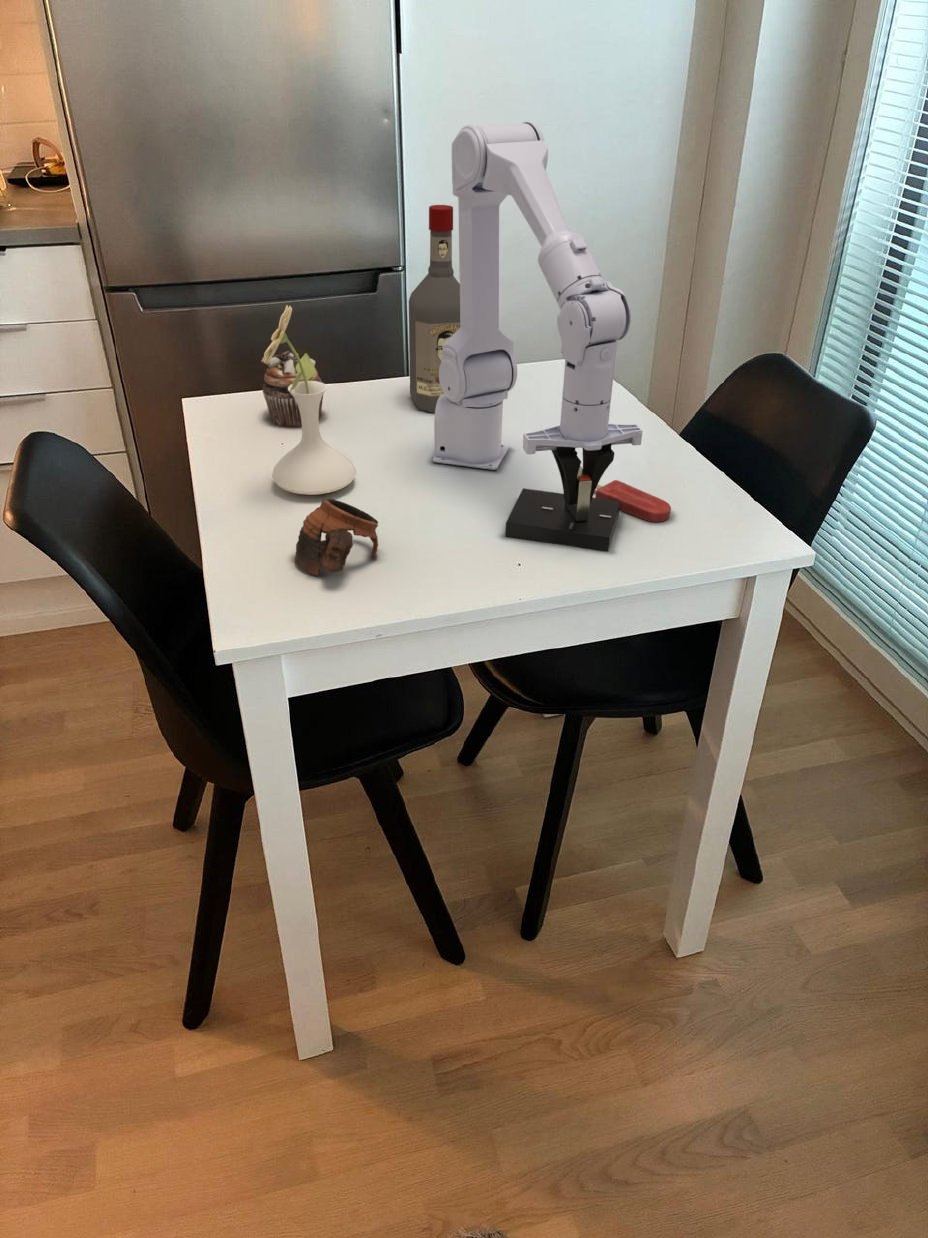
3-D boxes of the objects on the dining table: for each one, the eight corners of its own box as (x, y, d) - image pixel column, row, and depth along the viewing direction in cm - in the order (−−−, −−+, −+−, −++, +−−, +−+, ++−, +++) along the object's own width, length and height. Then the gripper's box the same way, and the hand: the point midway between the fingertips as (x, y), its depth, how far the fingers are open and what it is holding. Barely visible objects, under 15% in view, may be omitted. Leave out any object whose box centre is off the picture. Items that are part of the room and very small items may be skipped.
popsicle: (586, 467, 132) (678, 503, 124) (584, 478, 133) (676, 515, 125) (566, 477, 129) (659, 515, 121) (565, 488, 130) (657, 527, 122)
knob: (564, 505, 122) (567, 464, 119) (576, 503, 122) (580, 462, 119) (576, 521, 118) (579, 479, 115) (588, 520, 119) (592, 478, 115)
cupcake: (252, 420, 149) (244, 357, 143) (292, 401, 156) (287, 340, 150) (299, 434, 145) (294, 370, 139) (339, 413, 151) (335, 352, 146)
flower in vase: (297, 461, 137) (281, 282, 123) (370, 473, 133) (362, 292, 119) (251, 499, 126) (227, 310, 112) (328, 514, 123) (314, 321, 109)
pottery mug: (286, 549, 117) (311, 487, 115) (357, 575, 120) (383, 516, 118) (290, 576, 106) (318, 508, 104) (369, 605, 109) (397, 539, 107)
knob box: (505, 536, 119) (505, 521, 118) (522, 501, 127) (522, 486, 126) (608, 551, 116) (610, 535, 115) (618, 514, 124) (620, 499, 123)
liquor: (407, 394, 159) (404, 201, 142) (460, 390, 161) (463, 200, 144) (418, 414, 152) (416, 214, 135) (474, 410, 154) (478, 212, 137)
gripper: (537, 413, 107) (530, 520, 115) (657, 404, 110) (643, 509, 118) (520, 391, 113) (515, 494, 120) (634, 383, 116) (622, 484, 123)
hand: (577, 500), depth 119 cm, fingers closed on knob, 2 cm apart
